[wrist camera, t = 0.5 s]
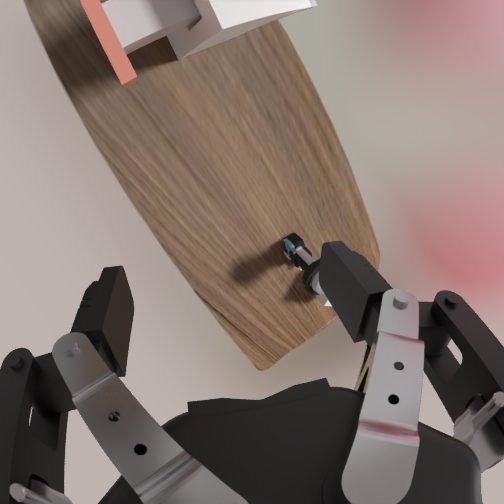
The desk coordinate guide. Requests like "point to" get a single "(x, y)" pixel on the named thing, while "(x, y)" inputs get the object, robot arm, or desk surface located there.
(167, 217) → the desk surface
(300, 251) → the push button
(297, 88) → the desk surface
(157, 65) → the desk surface
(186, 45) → the socket block
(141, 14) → the plug
